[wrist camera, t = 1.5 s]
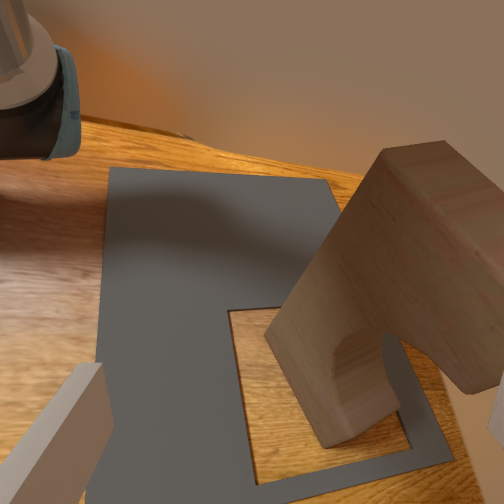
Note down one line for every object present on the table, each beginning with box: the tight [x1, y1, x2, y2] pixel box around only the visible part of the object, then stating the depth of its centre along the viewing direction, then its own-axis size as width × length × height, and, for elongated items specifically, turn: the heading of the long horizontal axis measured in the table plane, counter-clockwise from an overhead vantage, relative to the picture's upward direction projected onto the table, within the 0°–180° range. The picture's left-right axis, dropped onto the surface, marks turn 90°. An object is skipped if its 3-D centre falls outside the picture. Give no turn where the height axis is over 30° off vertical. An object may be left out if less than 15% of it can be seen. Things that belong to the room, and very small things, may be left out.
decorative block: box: [264, 140, 504, 449], centre depth 32 cm, size 15×8×30 cm, turn 27°
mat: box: [85, 167, 455, 504], centre depth 49 cm, size 50×41×1 cm
